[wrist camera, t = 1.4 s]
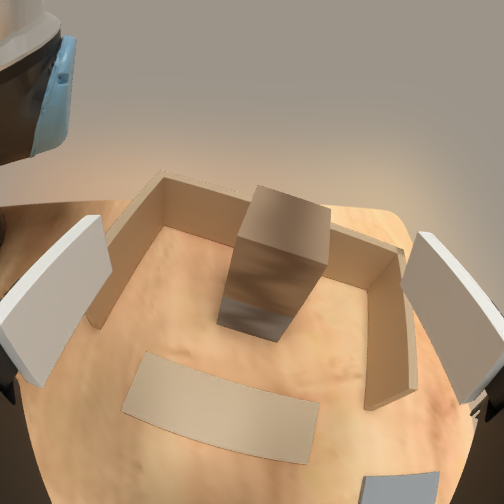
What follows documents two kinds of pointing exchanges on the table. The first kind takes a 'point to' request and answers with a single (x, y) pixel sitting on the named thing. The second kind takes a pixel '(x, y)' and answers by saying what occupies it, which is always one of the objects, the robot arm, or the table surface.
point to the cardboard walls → (230, 393)
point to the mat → (400, 489)
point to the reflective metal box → (274, 263)
